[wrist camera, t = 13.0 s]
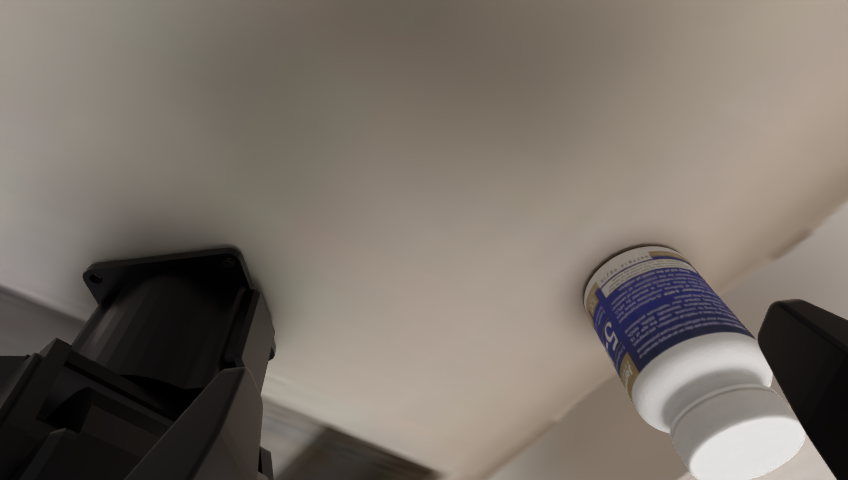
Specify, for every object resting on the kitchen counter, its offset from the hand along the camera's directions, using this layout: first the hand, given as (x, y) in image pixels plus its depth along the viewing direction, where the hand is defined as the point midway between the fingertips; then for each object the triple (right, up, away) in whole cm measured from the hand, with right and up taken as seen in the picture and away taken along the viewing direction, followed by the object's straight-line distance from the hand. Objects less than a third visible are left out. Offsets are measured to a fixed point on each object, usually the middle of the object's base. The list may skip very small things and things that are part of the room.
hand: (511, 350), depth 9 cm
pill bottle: (+9, 0, +16) cm, 18 cm away
